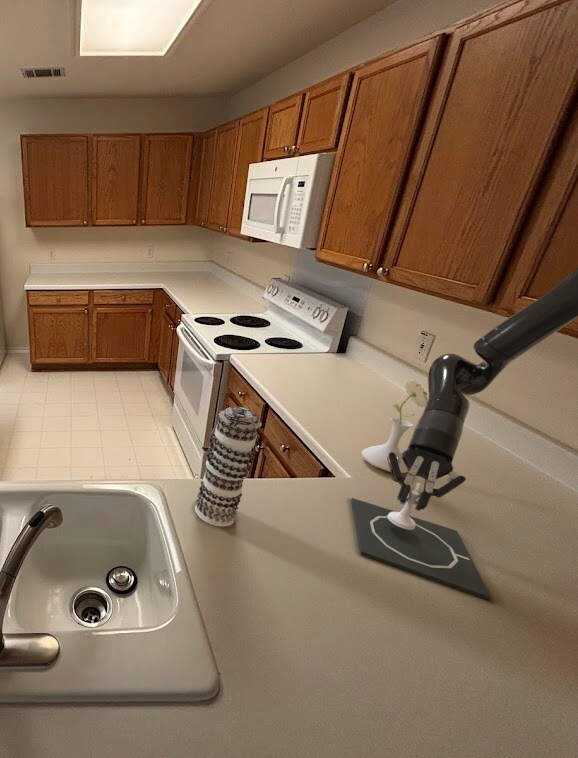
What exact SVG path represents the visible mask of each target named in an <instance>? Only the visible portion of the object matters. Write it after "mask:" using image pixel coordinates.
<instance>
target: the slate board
mask: <svg viewBox="0 0 578 758" xmlns="http://www.w3.org/2000/svg"><path fill="white" fill-rule="evenodd" d="M350 504H351V509H352V514H353V521H354V525H355V526H354V527H355V531H356V537H357V542H358V543H357V544H358V547H359V548H358V549H359V555H361V556H365V557H367V558H370V559H373V560H376V561H378V562H381V563H383V564H387V565H388V566H392V567H395V568H398V569H400V570H403V571H405V572H409V573H411V574H414V575H417V576H420V577H423V578H426V579H428V580H430V581H434V582H437V583H439V584H442V585H445V586H447V587H451V588H453V589H457V590H458V591H461V592H464V593H468V594H470V595H473V596H476V597H477V598H478V597H479V598H482V599H484V600H486V601H490V600H491V599H492V596H491V593H490V592H489V590H488V588H487V586H486V584H485V582H484V580H483V579H482V577H481V575H480V572H479V571H478V569H477V567H476V565H475V563H474V561H473V559H472V557H471V556H470V554H469V551H468V550H467V547H466V545H465V544H464V542H463V540H462V538H461V536H460V534H459V532H458V530H456V529H453V528H449V527H446V526H443V525H440V524H436V523H434V522H432V521H431V522H430V521H427V520H424V519H421V518H418V517H414V516H412V515H409V516H410V518H411V519H413V520H414V522H415V523H416V526H415V529H412V530H408V529H404V528H401V527H399V526H397V525H395V524H393V523H392V522H391V521H390V520H389V519H388V517H387V516H388V514H389V513H390V512H397V510H392V509H388V508H387V507H386V508H385V507H383V506H379V505H376V504H372V503H370V502H367V501H363V500H360V499H357V498H353V497H351V499H350Z"/></svg>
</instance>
